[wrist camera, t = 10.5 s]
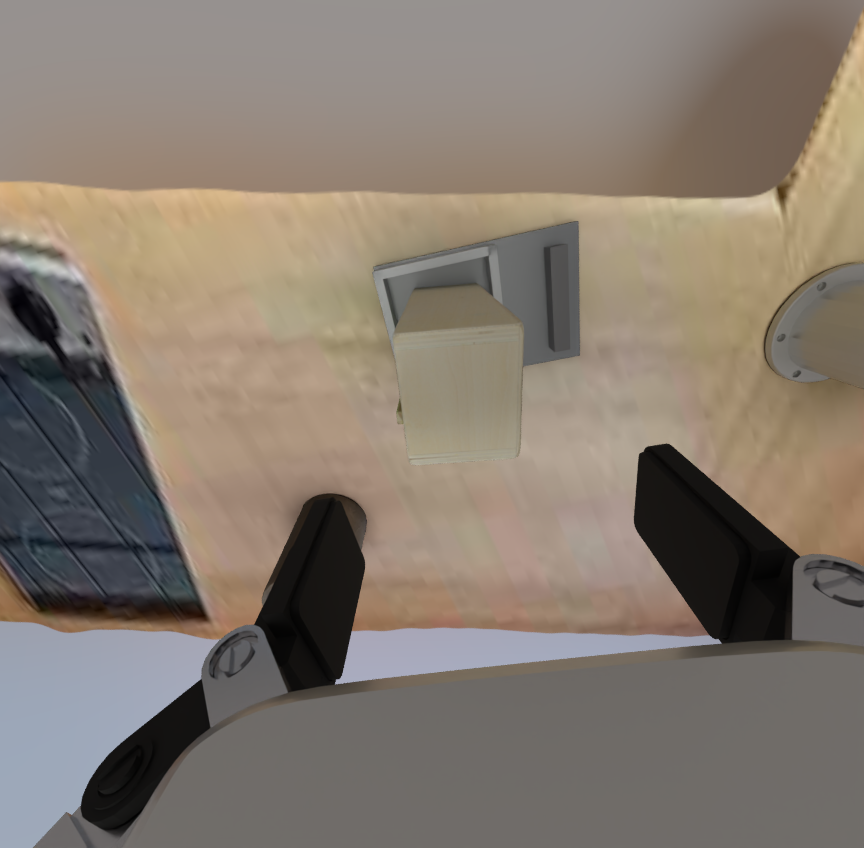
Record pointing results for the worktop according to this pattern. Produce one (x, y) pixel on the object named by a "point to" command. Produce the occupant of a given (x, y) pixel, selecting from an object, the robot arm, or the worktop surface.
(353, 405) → the worktop surface
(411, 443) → the beige tall block
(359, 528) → the pillar candle
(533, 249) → the tray
